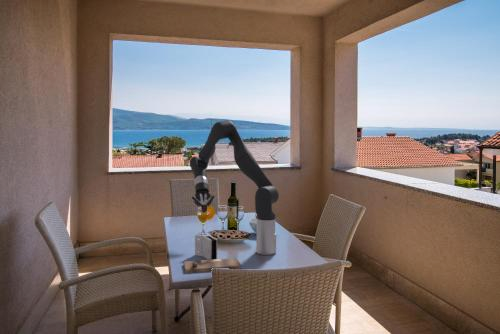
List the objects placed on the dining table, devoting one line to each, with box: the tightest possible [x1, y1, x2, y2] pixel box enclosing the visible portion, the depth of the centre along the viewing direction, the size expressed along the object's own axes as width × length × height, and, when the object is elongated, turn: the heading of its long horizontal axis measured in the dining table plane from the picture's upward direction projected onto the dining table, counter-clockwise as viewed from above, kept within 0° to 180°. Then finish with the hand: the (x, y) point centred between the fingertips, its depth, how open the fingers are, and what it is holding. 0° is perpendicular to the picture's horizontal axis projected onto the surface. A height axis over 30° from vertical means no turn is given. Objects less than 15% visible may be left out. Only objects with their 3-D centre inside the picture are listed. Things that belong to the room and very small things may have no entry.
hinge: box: [194, 234, 218, 260], centre depth 178 cm, size 14×5×10 cm, turn 44°
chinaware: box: [248, 217, 257, 235], centre depth 223 cm, size 15×15×8 cm
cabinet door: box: [183, 257, 242, 274], centre depth 166 cm, size 24×10×3 cm, turn 104°
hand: (204, 211), depth 197 cm, fingers closed
